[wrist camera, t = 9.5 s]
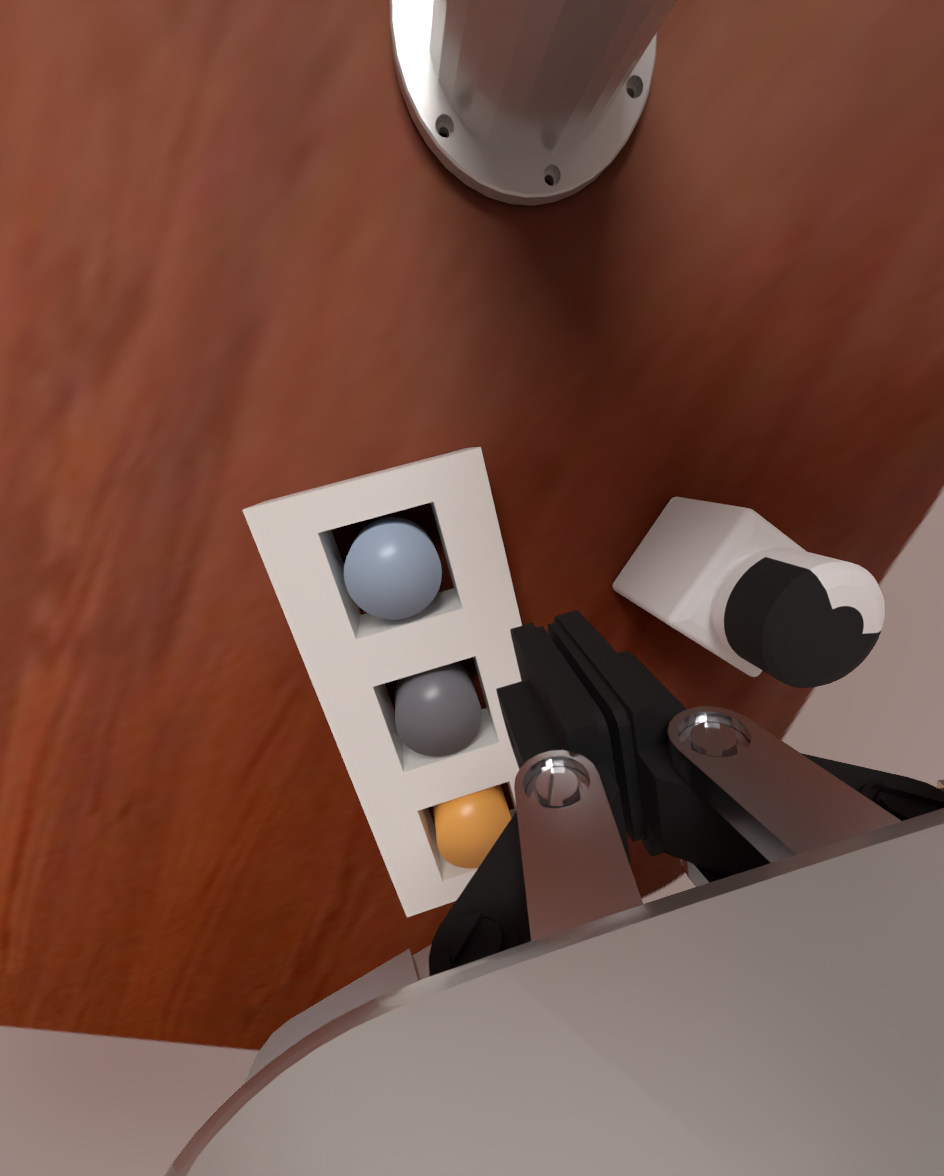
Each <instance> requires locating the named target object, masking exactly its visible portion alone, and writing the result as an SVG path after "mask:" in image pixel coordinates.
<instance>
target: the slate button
mask: <svg viewBox="0 0 944 1176" xmlns="http://www.w3.org/2000/svg"><path fill="white" fill-rule="evenodd" d="M441 579H442V567H441V562H440V559H439V556H438V554H437V551H436V549H435V546H434V544H433V542H432V540H431V538H430V536H429V535H428V534H427V532H426V531H425V530H424V529H423V528H422V527H420V526H419V525H418V524H416V523H415V522H413V521H410V520H408V519H405V518H400V517H385V518H380V519H378V520H375V521H373V522H371V523H369V524H368V525H366V526H365V527H364V528H363V529H362V530H361V531H360V532H359V533H358V535H357V536H356V538H355V540H354V542H353V544H352V546H351V548H350V551H349V553H348V555H347V557H346V561H345V565H344V580H345V585H346V588H347V590H348V593H349V595H350V596H351V598H352V599H353V601H354V602H355V603H356V604H357V605H358V606H359V607H360V608H361V609H362V610H364V611H365V612H367V613H369V614H370V615H373V616H375V617H378V618H382V619H388V620H398V619H404V618H408V617H411V616H414V615H416V614H418V613H419V612H421V611H422V610H424V609H425V608H426V607H427V606H428V605H429V604H430V603H431V602H432V601H433V599H434V598H435V596H436V594H437V592H438V590H439V587H440V584H441Z"/></svg>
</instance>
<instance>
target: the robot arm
mask: <svg viewBox="0 0 944 1176" xmlns="http://www.w3.org/2000/svg"><path fill="white" fill-rule="evenodd" d="M676 1H677V0H390V31H391V44H392V56H393V61H394V65H395V69H396V74H397V78H398V82H399V87H400V90H401V93H402V95H403V98H404V100H405V103H406V105H407V108H408V111H409V113H410V116H411V118H412V120H413V122H414V124H415V125H416V127H417V129H418V131H419V132H420V134H421V136H422V137H423V139H424V141H425V143H426V144H427V146H428V147H429V148H430V149H431V151H432V152H433V153H434V154H435V156H436V157H437V158H438V159H439V160H440V162H441V163H442V164H443V165H444V167H445V168H446V169H448V170H449V171H450V172H451V173H452V174H454V175H455V176H456V177H457V178H458V179H459V180H461V181H462V182H463V183H464V184H465V185H467V186H469V187H470V188H472V189H474V190H476V191H478V192H479V193H481V194H483V195H485V196H486V197H489V198H492V199H495V200H498V201H502V202H505V203H508V204H516V205H530V206H534V205H540V204H546V203H553V202H556V201H559V200H561V199H564V198H566V197H568V196H571V195H573V194H576V193H577V192H579V191H580V190H581V189H583V188H584V187H586V186H587V185H589V184H590V183H591V182H593V181H594V180H596V178H597V177H598V176H599V175H600V174H601V173H602V172H603V171H604V170H605V169H606V168H607V167H608V166H609V165H610V164H611V163H612V161H613V160H614V159H615V157H616V156H617V154H618V153H619V152H620V150H621V149H622V147H623V146H624V145H625V144H626V142H627V141H628V139H629V137H630V135H631V133H632V131H633V129H634V128H635V126H636V124H637V122H638V120H639V118H640V116H641V113H642V111H643V108H644V105H645V103H646V100H647V97H648V94H649V90H650V86H651V81H652V76H653V70H654V65H655V60H656V44H657V31H658V30H659V28H660V26H661V25H662V23H663V22H664V20H665V18H666V17H667V15H668V14H669V12H670V10H671V9H672V7H673V6H674V4H675V2H676ZM440 133H445V134H446V135H447V137H448V138H445V137H441V136H440V135H439V134H440ZM545 180H548V181H549V182H550V184H551V186H549V185H548V184H547V183H546V182H545ZM548 631H549V635H548V633H547V632H546V630H545V629H544V628H543V626H541V627H537V628H536V627H535V626H534V624H533V623H530V624H526V625H523V626H519V627H516V628H512V629H510V632H511V638H512V642H513V646H514V651H515V655H516V659H517V664H518V668H519V672H520V677H521V682H517V683H514V684H510V685H507V686H504V687H500V688H497V689H496V691H497V696H498V700H499V704H500V708H501V711H502V715H503V719H504V723H505V726H506V730H507V733H508V737H509V740H510V743H511V746H512V749H513V752H514V755H515V758H516V761H517V764H518V767H519V771H518V773H517V775H516V777H515V785H514V791H515V800H516V809H517V811H516V812H515V814H514V815H513V817H512V818H511V820H510V821H509V823H508V824H507V826H506V827H505V829H504V830H503V832H502V833H501V835H500V836H499V838H498V839H497V841H496V842H495V844H494V845H493V847H492V848H491V850H490V851H489V853H488V854H487V856H486V857H485V859H484V860H483V862H482V863H481V865H480V866H479V868H478V869H477V871H476V872H475V874H474V875H473V877H472V878H471V880H470V881H469V883H468V884H467V886H466V887H465V889H464V890H463V892H462V893H461V895H460V896H459V898H458V899H457V901H456V902H455V904H454V905H453V907H452V908H451V910H450V911H449V912H448V914H447V915H446V917H445V918H444V920H443V921H442V923H441V924H440V926H439V928H438V930H437V932H436V934H435V936H434V938H433V940H432V944H431V945H430V946H428V947H426V948H425V949H423V950H421V951H420V952H418V953H416V954H415V955H412V953H411V951H410V949H408V950H406V951H405V952H403V953H401V954H400V955H398V956H396V957H395V958H393V959H391V960H390V961H388V962H386V963H385V964H383V965H381V966H379V967H378V968H376V969H374V970H373V971H371V972H369V973H368V974H366V975H364V976H363V977H361V978H359V979H358V980H356V981H354V982H353V983H351V984H349V985H347V986H346V987H344V988H342V989H341V990H339V991H337V992H336V993H334V994H332V995H331V996H329V997H327V998H326V999H324V1000H322V1001H320V1002H319V1003H317V1004H315V1005H314V1006H312V1007H310V1008H309V1009H307V1010H305V1011H304V1012H302V1013H300V1014H299V1015H297V1016H295V1017H294V1018H292V1019H290V1020H289V1021H288V1022H286V1023H285V1024H284V1025H283V1026H281V1027H280V1028H279V1029H278V1030H276V1031H275V1032H274V1033H273V1034H272V1035H271V1036H270V1038H269V1039H268V1040H267V1042H266V1043H265V1044H264V1046H263V1047H262V1048H261V1050H260V1051H259V1052H258V1054H257V1056H256V1058H255V1060H254V1062H253V1064H252V1066H251V1069H250V1071H249V1073H248V1075H247V1077H246V1081H245V1084H244V1085H243V1086H242V1087H241V1088H239V1089H238V1091H236V1092H235V1093H234V1094H233V1095H232V1096H231V1097H230V1098H229V1099H228V1100H227V1101H226V1102H225V1103H224V1104H223V1105H222V1106H221V1107H220V1108H219V1109H218V1110H217V1111H216V1112H215V1113H214V1114H213V1115H212V1116H211V1117H210V1118H209V1119H208V1121H207V1122H206V1123H205V1124H204V1125H203V1126H202V1127H201V1128H200V1129H199V1130H198V1131H197V1132H196V1133H195V1135H194V1136H193V1137H192V1139H191V1140H190V1141H189V1142H188V1144H187V1145H186V1146H185V1148H184V1149H183V1150H182V1151H181V1153H180V1154H179V1155H178V1157H177V1158H176V1160H175V1161H174V1162H173V1164H172V1165H171V1167H170V1168H169V1170H168V1171H167V1173H166V1175H165V1176H944V780H938V783H937V788H936V787H934V786H932V785H930V784H928V783H925V782H922V781H918V780H915V779H911V778H908V777H904V776H900V775H896V774H891V773H887V772H882V771H878V770H873V769H869V768H864V767H860V766H855V765H850V764H846V763H842V762H837V761H833V760H828V759H823V758H819V757H815V756H810V755H806V754H801V753H799V752H798V751H796V750H795V749H793V748H792V747H790V746H789V745H787V744H786V743H784V742H783V741H781V740H780V739H778V738H777V737H775V736H774V735H772V734H771V733H769V732H768V731H766V730H765V729H763V728H762V727H760V726H759V725H757V724H756V723H754V722H753V721H751V720H750V719H748V718H747V717H745V716H743V715H741V714H739V713H737V712H735V711H732V710H728V709H725V708H720V707H710V706H705V707H694V708H691V709H686V708H685V707H684V706H683V705H682V704H681V703H680V702H679V701H678V700H677V699H676V698H675V697H674V696H673V695H672V694H671V693H670V692H669V691H668V690H667V689H666V688H665V687H664V686H663V685H662V684H661V683H660V682H659V681H658V680H657V679H656V678H655V677H654V676H653V675H652V674H651V673H650V672H649V670H648V669H647V668H646V667H645V666H644V665H643V664H642V663H641V662H640V661H639V660H638V659H637V658H636V657H635V656H634V655H633V654H632V653H630V652H629V651H624V652H621V653H617V652H616V651H615V650H614V649H613V648H612V647H611V646H610V645H609V644H608V643H607V642H606V640H605V639H604V638H603V637H602V636H601V635H600V634H599V633H598V632H597V631H596V630H595V629H594V628H593V626H592V625H591V624H590V623H589V622H588V621H587V620H586V619H585V618H584V617H583V616H582V615H581V613H580V612H579V611H577V610H575V611H572V612H568V613H565V614H561V615H558V616H555V617H554V623H551V624H548ZM626 831H627V833H628V835H629V837H630V838H631V840H632V841H637V840H640V839H641V840H642V842H643V844H644V846H645V847H646V849H647V851H648V852H649V854H650V856H655V855H658V854H661V853H667V854H669V855H672V856H675V857H677V858H680V860H681V864H682V868H683V869H684V871H685V872H686V874H687V876H688V877H689V879H691V881H692V882H693V883H694V885H695V886H696V887H695V888H692V889H689V890H686V891H683V892H680V893H677V894H673V895H670V896H667V897H664V898H661V899H659V900H655V901H652V902H649V903H646V904H643V903H642V900H641V897H640V894H639V891H638V888H637V885H636V882H635V879H634V876H633V873H632V870H631V867H630V863H631V862H630V856H629V849H628V843H627V836H626Z"/></svg>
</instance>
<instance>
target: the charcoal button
mask: <svg viewBox="0 0 944 1176" xmlns="http://www.w3.org/2000/svg"><path fill="white" fill-rule="evenodd" d="M481 720H482V711H481V706H480V703H479V700H478V697H477V694H476V691H475V688H474V685H473V682H472V679H471V676H470V674H469V672H468V670H467V669H466V667H465V666H464V665H463V664H462V663H461V662H459V661H458V662H454V663H451V664H448V665H444V666H441V667H438V668H434V669H431V670H428V671H424V672H421V673H418V674H414V675H411V676H408V677H404V678H401V679H398V680H397V682H396V687H395V724H396V730H397V733H398V735H399V737H400V739H401V740H402V742H403V743H404V744H405V745H406V746H407V747H408V748H410V749H411V750H413V751H414V752H416V753H419V754H422V755H426V756H434V757H435V756H445V755H449V754H452V753H455V752H457V751H459V750H461V749H462V748H464V747H465V746H466V745H468V744H469V743H470V742H471V741H472V740H473V738H474V737H475V736H476V734H477V732H478V730H479V728H480V725H481Z"/></svg>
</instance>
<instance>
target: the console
mask: <svg viewBox="0 0 944 1176" xmlns="http://www.w3.org/2000/svg"><path fill="white" fill-rule="evenodd" d="M427 503H431V506H432V510H433V513H434V517H435V521H436V524H437V528H438V532H439V535H440V539H441V543H442V546H443V550H444V554H445V557H446V561H447V565H448V568H449V572H450V576H451V579H452V583H453V587H454V588H452V589H449V590H445V591H442V592H438V593H437V594H436V596H435V598H434V599H433V601H432V602H431V603H430V604H429V605H428V606H427V607H426V608H425V609H424V610H422V611H421V612H419V613H418V614H416V615H414V616H411V617H408V618H404V619H398V620H388V619H382V618H378V617H375V616H373V615H370V614H369V613H365V614H362V615H361V613H360V610H359V607H358V605H357V604H356V603H355V602H354V601H353V599H352V598H351V596H350V595H349V593H348V590H347V588H346V585H345V580H344V564H343V561H342V558H341V556H340V553H339V550H338V547H337V544H336V541H335V538H334V535H333V533H332V530H331V529H335V528H338V527H342V526H346V525H349V524H353V523H357V522H360V521H364V520H368V519H372V518H375V517H379V516H383V515H386V514H390V513H394V512H397V511H401V510H405V509H408V508H412V507H416V506H419V505H423V504H427ZM243 513H244V515H245V518H246V520H247V523H248V525H249V528H250V530H251V533H252V535H253V538H254V540H255V543H256V545H257V547H258V550H259V552H260V555H261V557H262V560H263V562H264V565H265V567H266V570H267V572H268V575H269V577H270V580H271V582H272V585H273V587H274V590H275V592H276V595H277V597H278V599H279V602H280V604H281V607H282V609H283V612H284V614H285V617H286V619H287V622H288V624H289V627H290V629H291V632H292V634H293V637H294V639H295V642H296V644H297V646H298V649H299V651H300V654H301V656H302V659H303V661H304V664H305V666H306V669H307V671H308V674H309V676H310V679H311V681H312V684H313V686H314V689H315V691H316V693H317V696H318V698H319V701H320V703H321V706H322V708H323V711H324V713H325V716H326V718H327V721H328V723H329V726H330V728H331V731H332V733H333V736H334V738H335V741H336V743H337V745H338V748H339V750H340V753H341V755H342V758H343V760H344V763H345V765H346V768H347V770H348V773H349V775H350V778H351V780H352V783H353V785H354V788H355V790H356V792H357V795H358V797H359V800H360V802H361V805H362V807H363V810H364V812H365V815H366V817H367V820H368V822H369V825H370V827H371V830H372V832H373V835H374V837H375V839H376V842H377V844H378V847H379V849H380V852H381V854H382V857H383V859H384V862H385V864H386V867H387V869H388V872H389V874H390V877H391V879H392V882H393V884H394V887H395V889H396V891H397V894H398V896H399V899H400V901H401V904H402V906H403V909H404V911H405V914H406V916H407V917H410V916H413V915H416V914H418V913H421V912H424V911H427V910H430V909H433V908H436V907H439V906H442V905H445V904H448V903H451V902H454V901H457V899H458V898H459V896H460V895H461V893H462V892H463V890H464V889H465V887H466V886H467V884H468V883H469V881H470V880H471V878H472V877H473V875H474V874H475V872H476V871H477V869H478V868H461V867H457V866H454V865H452V864H450V863H449V862H447V861H446V860H445V859H444V858H443V857H442V855H441V854H440V852H439V850H438V846H437V838H436V829H435V826H434V823H433V820H432V817H431V814H430V812H429V809H428V807H431V806H434V805H437V804H440V803H443V802H447V801H450V800H453V799H456V798H459V797H462V796H465V795H468V794H471V793H474V792H478V791H481V790H484V789H487V788H490V787H493V786H496V785H499V784H502V783H505V782H507V784H508V787H509V791H510V795H511V798H512V802H513V806H514V809H512V810H509V812H510V815H511V818H512V817H513V815H514V814H515V812H516V811H517V809H516V800H515V791H514V785H515V777H516V775H517V773H518V771H519V767H518V764H517V761H516V758H515V755H514V752H513V749H512V746H511V743H510V740H509V737H508V733H507V730H506V726H505V723H504V719H503V715H502V711H501V708H500V704H499V700H498V696H497V691H496V689H497V688H500V687H504V686H507V685H510V684H514V683H517V682H521V677H520V672H519V668H518V664H517V659H516V655H515V651H514V646H513V642H512V638H511V632H510V629H512V628H516V627H519V626H522V623H521V619H520V615H519V610H518V606H517V602H516V597H515V593H514V589H513V584H512V580H511V576H510V571H509V567H508V563H507V558H506V554H505V550H504V545H503V541H502V537H501V532H500V528H499V524H498V519H497V515H496V511H495V506H494V502H493V498H492V493H491V489H490V485H489V480H488V476H487V472H486V467H485V463H484V459H483V454H482V450H481V447H470V448H465V449H461V450H458V451H454V452H450V453H446V454H442V455H439V456H435V457H431V458H427V459H423V460H420V461H416V462H412V463H408V464H405V465H401V466H397V467H393V468H389V469H386V470H382V471H378V472H374V473H370V474H367V475H363V476H359V477H355V478H351V479H348V480H344V481H340V482H336V483H332V484H329V485H325V486H321V487H317V488H313V489H310V490H306V491H302V492H298V493H294V494H291V495H287V496H283V497H279V498H275V499H272V500H268V501H264V502H262V503H259V504H256V505H254V506H251V507H249V508H246V509H243ZM471 657H473V660H474V663H475V667H476V671H477V674H478V678H479V682H480V685H481V689H482V692H483V696H484V700H485V703H486V707H487V708H485V709H482V710H481V711H482V720H481V725H480V728H479V730H478V732H477V734H476V736H475V737H474V738H473V740H472V741H471V742H470V743H469V744H468V745H466V746H465V747H464V748H462V749H461V750H459V751H457V752H455V753H452V754H449V755H445V756H435V757H434V756H426V755H422V754H419V753H416V752H414V751H413V750H411V749H410V748H408V747H407V746H406V745H405V744H404V743H403V742H402V740H401V739H400V737H399V735H398V733H397V730H396V724H395V711H394V708H393V705H392V702H391V699H390V697H389V694H388V691H387V688H386V685H385V683H388V682H391V681H394V680H398V679H401V678H404V677H408V676H411V675H414V674H418V673H421V672H424V671H428V670H431V669H434V668H438V667H441V666H444V665H448V664H451V663H454V662H458V661H461V660H464V659H468V658H471Z"/></svg>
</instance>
